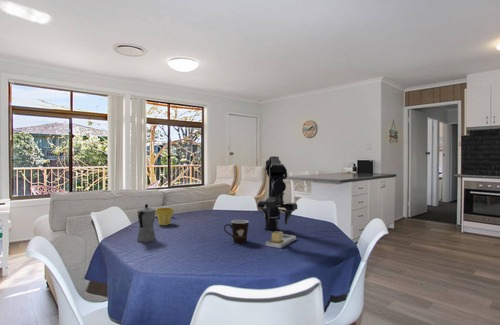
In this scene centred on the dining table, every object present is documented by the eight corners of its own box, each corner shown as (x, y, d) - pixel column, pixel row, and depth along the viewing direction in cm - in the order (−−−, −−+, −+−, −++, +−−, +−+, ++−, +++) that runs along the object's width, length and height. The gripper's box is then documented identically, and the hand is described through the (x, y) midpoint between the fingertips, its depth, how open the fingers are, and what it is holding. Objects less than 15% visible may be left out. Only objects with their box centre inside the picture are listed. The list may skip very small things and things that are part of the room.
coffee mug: (250, 240, 148) (251, 220, 148) (245, 244, 140) (245, 224, 140) (229, 238, 152) (229, 218, 152) (222, 242, 144) (223, 222, 143)
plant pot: (166, 221, 191) (166, 206, 191) (176, 223, 185) (176, 208, 185) (152, 224, 182) (152, 209, 182) (163, 226, 176) (163, 210, 176)
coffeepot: (141, 236, 154) (142, 202, 154) (159, 236, 154) (159, 202, 154) (129, 244, 139) (129, 206, 139) (149, 244, 139) (149, 207, 139)
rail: (265, 245, 139) (265, 241, 139) (281, 237, 154) (281, 233, 154) (280, 248, 134) (280, 244, 134) (295, 239, 150) (295, 235, 150)
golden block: (271, 245, 139) (271, 232, 139) (275, 243, 143) (275, 231, 143) (279, 246, 137) (279, 233, 137) (282, 244, 141) (282, 232, 141)
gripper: (251, 191, 138) (251, 224, 138) (288, 193, 128) (288, 229, 128) (263, 189, 147) (262, 220, 147) (297, 191, 137) (297, 224, 137)
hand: (277, 223), depth 140 cm, fingers open, 9 cm apart
